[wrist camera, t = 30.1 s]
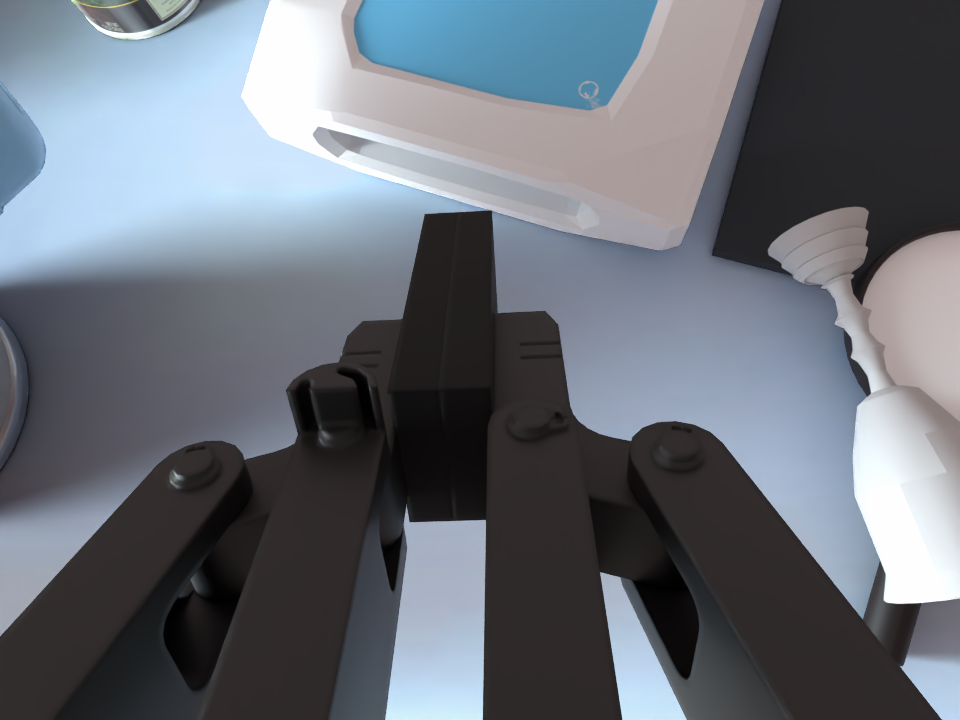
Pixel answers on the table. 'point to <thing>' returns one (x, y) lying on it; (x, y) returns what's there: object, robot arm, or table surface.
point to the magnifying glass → (912, 361)
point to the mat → (850, 125)
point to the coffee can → (135, 16)
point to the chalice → (888, 426)
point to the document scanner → (513, 101)
